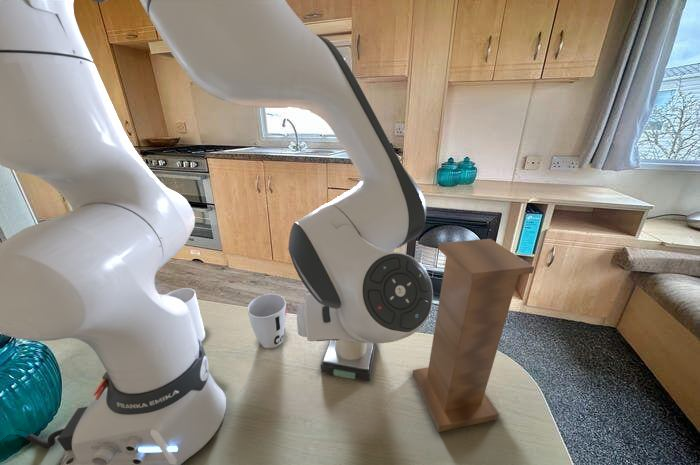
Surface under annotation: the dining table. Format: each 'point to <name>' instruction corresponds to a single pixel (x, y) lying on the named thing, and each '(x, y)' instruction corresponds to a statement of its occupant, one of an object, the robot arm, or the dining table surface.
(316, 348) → the dining table surface
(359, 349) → the cream mug
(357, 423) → the dining table surface
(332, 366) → the scale
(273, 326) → the cup
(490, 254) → the stand
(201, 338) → the mug
